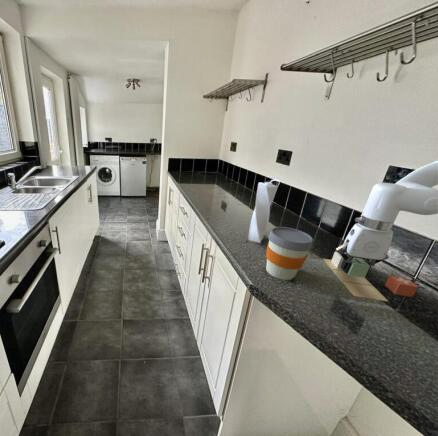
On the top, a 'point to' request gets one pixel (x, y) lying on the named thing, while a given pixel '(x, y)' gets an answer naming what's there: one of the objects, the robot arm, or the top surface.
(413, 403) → the top surface
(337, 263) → the white cube
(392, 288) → the orange red cube
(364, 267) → the green cube
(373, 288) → the word mat
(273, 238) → the reusable coffee cup
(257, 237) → the twisted white column
